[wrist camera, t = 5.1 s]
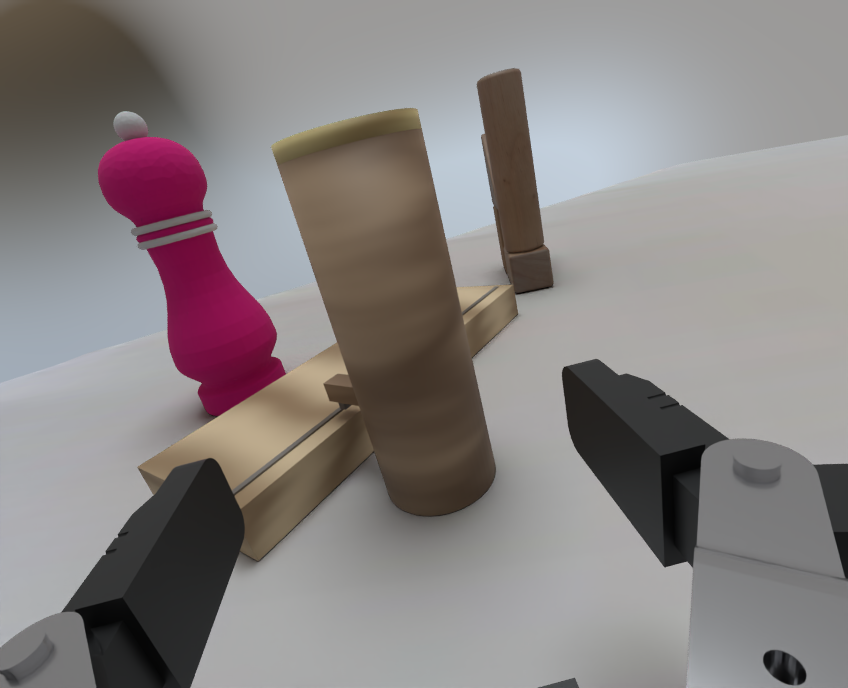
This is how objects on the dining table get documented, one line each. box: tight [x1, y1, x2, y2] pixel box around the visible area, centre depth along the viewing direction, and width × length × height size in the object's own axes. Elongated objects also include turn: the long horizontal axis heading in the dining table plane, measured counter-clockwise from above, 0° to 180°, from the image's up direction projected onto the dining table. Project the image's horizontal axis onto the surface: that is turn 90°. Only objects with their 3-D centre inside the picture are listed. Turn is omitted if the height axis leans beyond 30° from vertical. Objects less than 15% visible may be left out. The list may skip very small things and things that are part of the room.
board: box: [137, 285, 518, 561], centre depth 30 cm, size 26×9×3 cm, turn 145°
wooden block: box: [477, 68, 553, 293], centre depth 42 cm, size 4×11×18 cm, turn 176°
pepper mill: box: [98, 111, 286, 416], centre depth 31 cm, size 7×7×20 cm
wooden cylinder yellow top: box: [271, 108, 496, 516], centre depth 19 cm, size 5×8×15 cm, turn 55°
